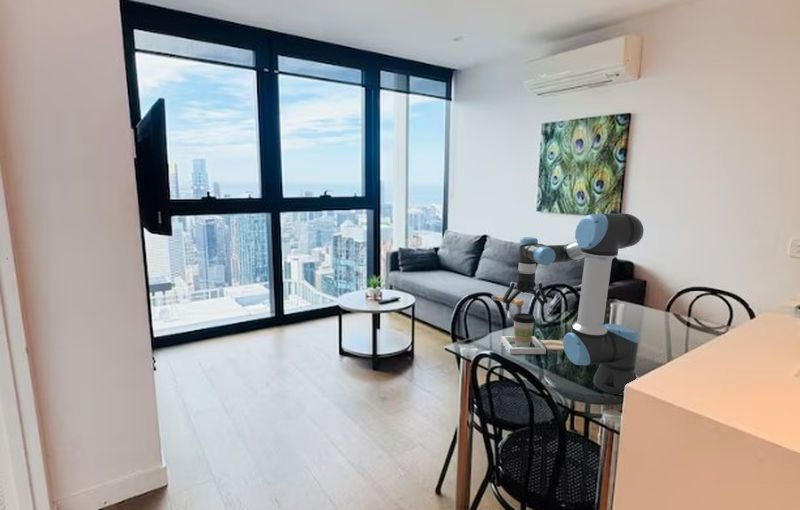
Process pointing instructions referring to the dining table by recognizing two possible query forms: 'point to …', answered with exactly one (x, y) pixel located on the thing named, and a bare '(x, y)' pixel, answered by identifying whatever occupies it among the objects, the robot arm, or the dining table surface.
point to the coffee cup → (523, 329)
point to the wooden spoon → (515, 301)
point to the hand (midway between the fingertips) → (523, 317)
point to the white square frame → (522, 350)
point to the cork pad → (553, 345)
